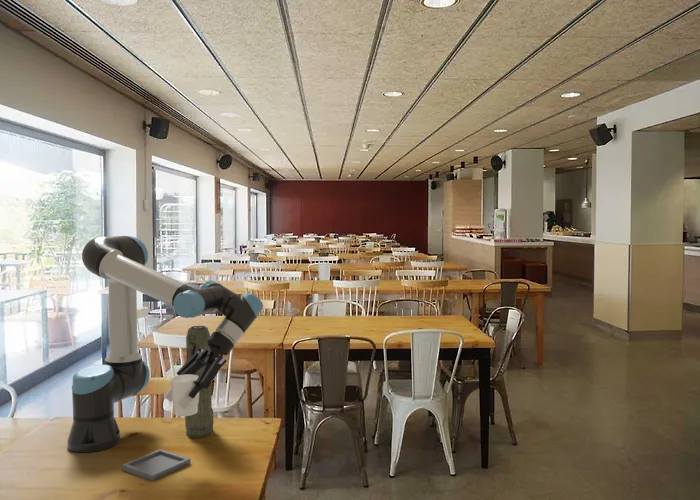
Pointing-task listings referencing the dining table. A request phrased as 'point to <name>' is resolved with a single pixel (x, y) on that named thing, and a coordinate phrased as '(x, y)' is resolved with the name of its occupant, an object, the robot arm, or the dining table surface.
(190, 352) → the thermos
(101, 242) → the robot arm
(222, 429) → the dining table surface
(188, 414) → the white cup
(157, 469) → the charcoal tray
